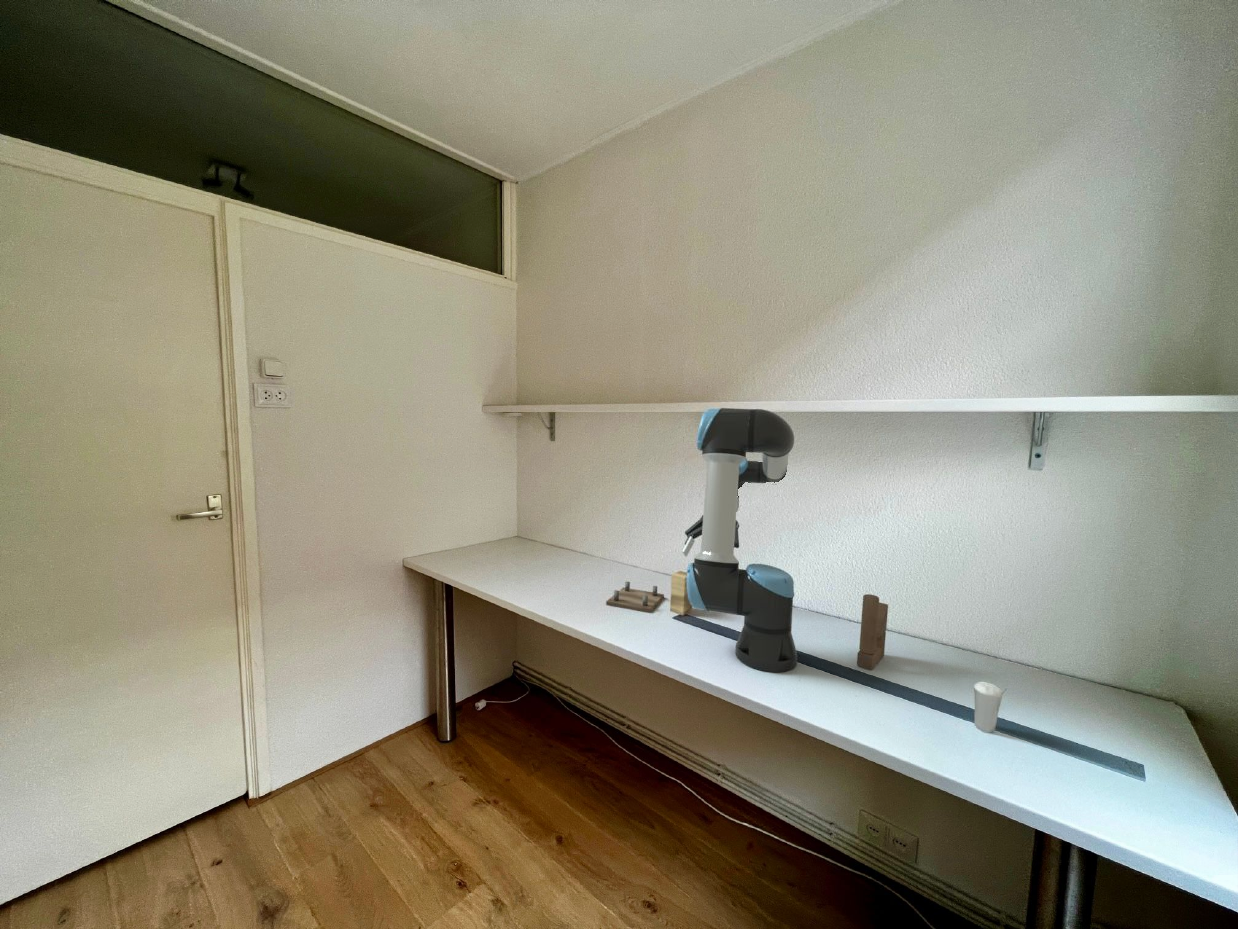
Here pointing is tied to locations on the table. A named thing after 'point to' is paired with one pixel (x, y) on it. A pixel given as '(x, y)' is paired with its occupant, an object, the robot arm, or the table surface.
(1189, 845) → the table surface
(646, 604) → the peg plate
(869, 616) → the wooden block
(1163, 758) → the table surface
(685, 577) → the oak post
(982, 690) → the milkshake
